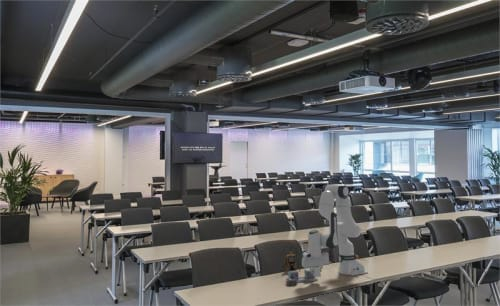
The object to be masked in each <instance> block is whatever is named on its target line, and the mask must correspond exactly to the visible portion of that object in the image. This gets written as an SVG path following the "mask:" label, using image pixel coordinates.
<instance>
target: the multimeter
mask: <svg viewBox="0 0 500 306" xmlns="http://www.w3.org/2000/svg"><path fill="white" fill-rule="evenodd" d="M286 248H287V246H285V247H284V249H283V252H282V253H284V252H285V249H286ZM292 248H295V254H293V250H292ZM297 255H298V254H297V248H296V247H295V246H293V245H292V246H291V247H290V252H289V254H286V256H285V264H283V268H285V267H286V271H287V272H285V274H288V271H297V265H298V269H299V270H301V268H300V266H299V264H297V263H299V262H298V259H297V257H298V256H297ZM285 265H286V266H285Z"/></svg>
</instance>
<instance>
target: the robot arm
mask: <svg viewBox="0 0 500 306" xmlns="http://www.w3.org/2000/svg"><path fill="white" fill-rule="evenodd" d="M349 192H350V191H349V187H348V186H347V185H346V184H339V183H335V184H333V183H332V184H325V185H324V186H322V188H321V195H320V197H319V203H318V213H319V214H320V216H321V217H323V218H324V219H326V220H327V221H328V223H329V226H328V227H329V233H322V232H320V231H319V230H317V229H313V230H310V231H309V232H308V235H307V243H308V250H307V251H305V252H303V253H302V258H301V266H302V268H304V269H307V268H309V269H310V270H311V273H314V270H312V267H316V266H320V272H321V273H322V270H323V267H324V266H329V265H330V258H329V257H330V254H329V252H327V251H324V252H323V251H322V248H321V247H323V248H327V249H332V250H333V249H335V248H337V246H338V250H339V251H338V253H339V254H338V261H339V265H338V271H337V272H338V274H340V275H347V276H359V275H364V274H368V270H367V269H365V265H364V264H363V263H362V262H361V261H360V260H359V259H358V258H359V255H357V254H355V252H354V243H352V242H351V240H349V238H358V237H360V236H361V233H362V228H361V226H360V225H359V224H358V223H357V222H355V219H354V218H353V214H352V210H351V201H350V197H349ZM334 206H335V207H334ZM334 208H335V209H334ZM335 212H336V213H335ZM338 218H339V219H340V221H341V222H340V221H338Z"/></svg>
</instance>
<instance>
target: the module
mask: <svg viewBox="0 0 500 306" xmlns="http://www.w3.org/2000/svg"><path fill="white" fill-rule="evenodd" d="M311 269H312V270H314V273H312V275H313V276H314V277H315V278H321V277H322V274H321V273H322V272H320V266H316V267H312V268H311Z"/></svg>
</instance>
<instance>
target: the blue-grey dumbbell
mask: <svg viewBox="0 0 500 306" xmlns="http://www.w3.org/2000/svg"><path fill="white" fill-rule="evenodd" d="M303 273H304V276H300V277H299V272H297V270H296V271H287V274H288V278H286V279H285V281H286V282H287V279H296V280H297V282H298V283H308V282H317V281H318V279H319V278H318V277H314V276H313V275H312V273H311V270H310V268H309V269H304V271H303Z"/></svg>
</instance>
